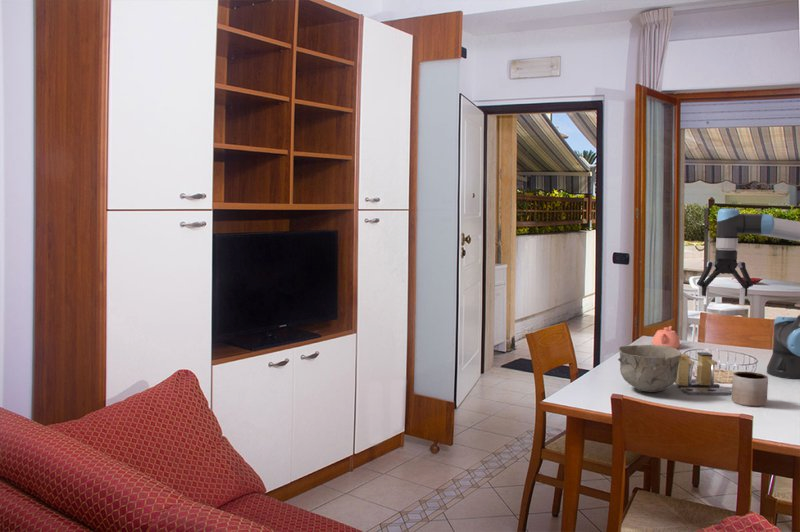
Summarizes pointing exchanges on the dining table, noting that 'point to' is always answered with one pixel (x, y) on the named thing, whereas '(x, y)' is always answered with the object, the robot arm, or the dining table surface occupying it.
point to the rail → (699, 386)
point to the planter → (749, 389)
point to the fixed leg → (684, 371)
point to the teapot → (666, 338)
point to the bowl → (649, 366)
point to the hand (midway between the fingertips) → (723, 304)
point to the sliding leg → (705, 369)
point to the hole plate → (707, 391)
